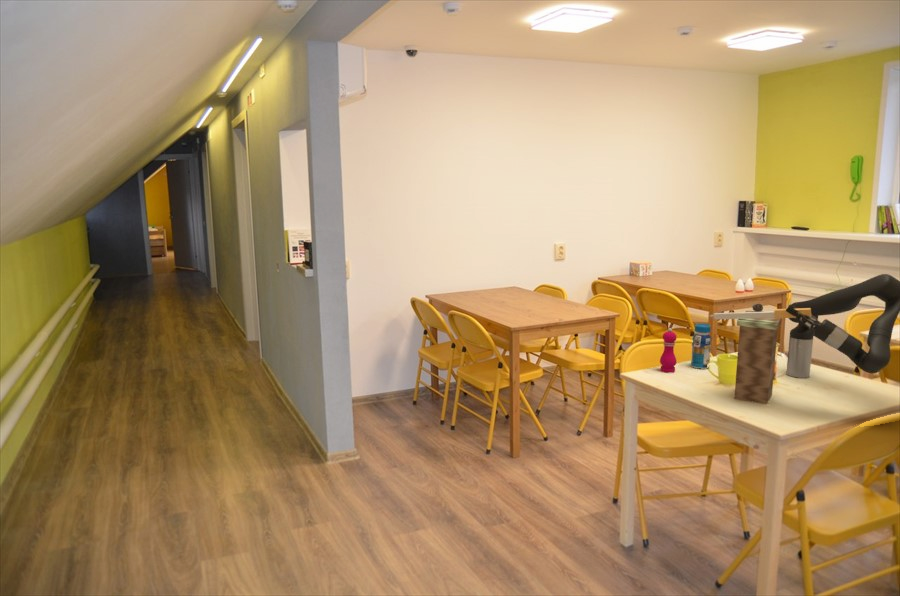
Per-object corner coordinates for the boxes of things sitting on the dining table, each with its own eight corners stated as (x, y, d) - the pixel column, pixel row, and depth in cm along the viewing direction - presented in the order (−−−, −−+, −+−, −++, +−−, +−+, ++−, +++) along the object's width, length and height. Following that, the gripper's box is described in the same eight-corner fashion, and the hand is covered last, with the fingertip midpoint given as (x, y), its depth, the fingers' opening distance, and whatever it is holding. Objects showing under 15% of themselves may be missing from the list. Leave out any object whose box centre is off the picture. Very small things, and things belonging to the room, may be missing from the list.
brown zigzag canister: (775, 394, 267) (781, 317, 261) (769, 405, 255) (776, 324, 249) (738, 388, 275) (743, 313, 269) (731, 398, 262) (737, 320, 256)
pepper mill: (661, 373, 297) (664, 329, 293) (657, 368, 304) (659, 326, 300) (678, 373, 297) (680, 329, 293) (673, 368, 304) (675, 326, 300)
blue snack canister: (688, 364, 310) (690, 323, 307) (706, 364, 310) (708, 323, 306) (693, 369, 302) (696, 327, 298) (712, 369, 302) (715, 327, 298)
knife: (811, 315, 246) (810, 308, 246) (810, 317, 244) (810, 309, 243) (711, 318, 266) (710, 311, 266) (709, 319, 263) (709, 312, 263)
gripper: (838, 322, 246) (795, 296, 253) (836, 330, 235) (791, 302, 241) (825, 338, 249) (783, 312, 256) (822, 346, 238) (779, 318, 244)
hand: (787, 307), depth 249 cm, fingers closed on knife, 3 cm apart
